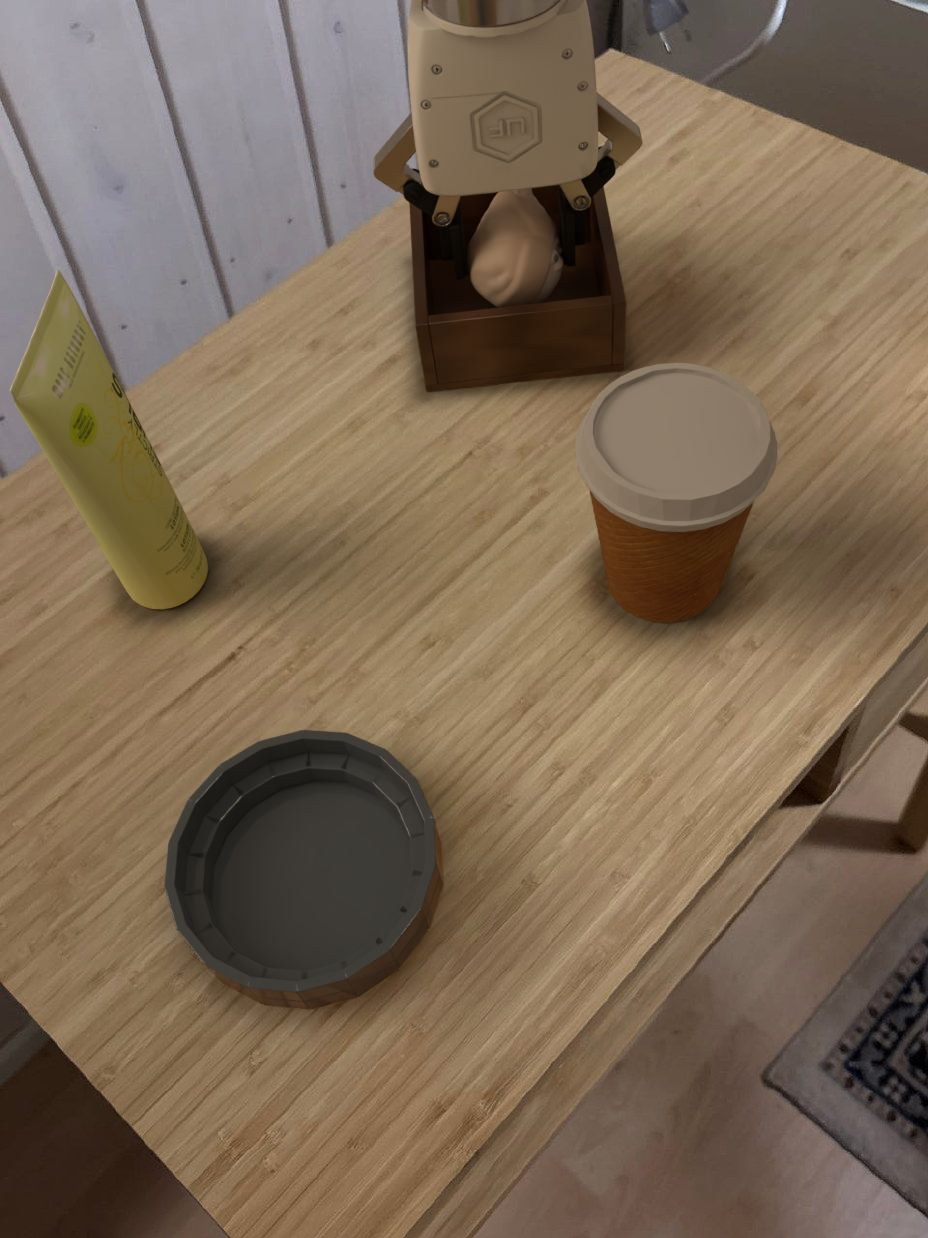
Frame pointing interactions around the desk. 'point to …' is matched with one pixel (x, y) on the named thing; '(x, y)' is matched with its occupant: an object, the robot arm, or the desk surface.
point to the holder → (518, 308)
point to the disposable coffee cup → (673, 482)
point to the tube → (105, 456)
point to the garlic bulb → (515, 251)
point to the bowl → (305, 869)
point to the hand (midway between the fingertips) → (513, 255)
